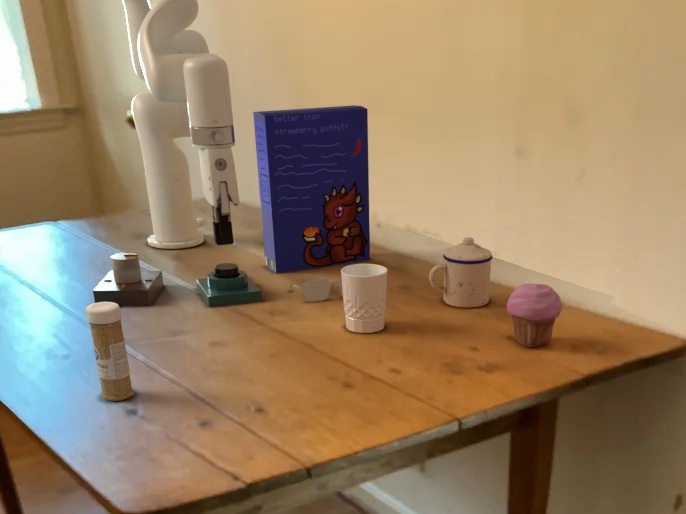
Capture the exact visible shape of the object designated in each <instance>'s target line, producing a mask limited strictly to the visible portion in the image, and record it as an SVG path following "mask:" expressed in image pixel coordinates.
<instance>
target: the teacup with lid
mask: <svg viewBox="0 0 686 514" xmlns="http://www.w3.org/2000/svg"><path fill="white" fill-rule="evenodd" d="M442 258H443V260H444V261H443V263H440V264H436V265H434V266H433V267H432V268H431V269H430V271H429V275H428V279H429V283H430V285H431V287H432V288H433V289H434V290H435V291H436V292H441V293H443V302H444V303H445V304H446V305H449V306H451V307H455V308H463V309H473V308H478V307H482V306H486V305H487V304H488V303H489V301H490V291H491V289H490V288H491V269H492V259H493V253H492V251H491V250H489V249H488V248H486V247H482V246H481V245H479V244H478V243H475V239H474V238H473V237H471V236H470V237H469V236H468V237H464V238H463V239H462V242H461V243H458V244H456V245H455V246H452V247H449V248H447V249H445V250H444V252H443V254H442ZM440 270H443V286H438V285H437V284H436V282H435V274H436V273H437V272H438V271H440Z"/></svg>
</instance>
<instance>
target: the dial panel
mask: <svg viewBox="0 0 686 514" xmlns="http://www.w3.org/2000/svg"><path fill="white" fill-rule="evenodd" d="M140 271H141V277H142V280H141V281H139V282H136V283H130V284H120V283H116V282H115V280H114V274H113V270H110V271H109V272H108V273H107V274H106V275H105V276H104V278H102V280H100V282H99V283H98V284H97V286H96V287H95V288H94V289H92V294H93V299H94V303H98V302H113V303H116V304H118V305H119V307H151V305H152V304H153V302H154V301H155V300H156V298H157V297H158V295H159V293H160V292H161V291H162V289H163V287H164V286H165V285H164V279H163V271H162V270H140Z"/></svg>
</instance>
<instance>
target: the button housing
mask: <svg viewBox="0 0 686 514" xmlns="http://www.w3.org/2000/svg"><path fill="white" fill-rule="evenodd" d="M238 273H239V276H237V277H234V278H217V277H215V270H214V271H213V270H212V271H210V272H209V273H208V274H206V278H196V280H195V281H196V290H197V291H198V292H199V294H200V296H201V297H202V298H203V300H204V302H205V303H206V305H207V306H208V308H212V307H213V308H214V307H222V306H232V305H239V304H240V305H241V304H249V303H259V302H262V301H263V299H262V291H261V289H260V288H259V287H258V286H257V284H255V282H254V281H253V280H252V279H251V277H250V276H249V275H248V274H247V272H246V271H244V270H241V269H238Z"/></svg>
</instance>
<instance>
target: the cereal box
mask: <svg viewBox="0 0 686 514" xmlns="http://www.w3.org/2000/svg"><path fill="white" fill-rule="evenodd" d="M252 114H253V124H254V125H253V126H254V138H255V139H254V140H255V152H256V164H257V177H258V190H259V201H260V213H261V214H260V215H261V227H262V240H263V252H264V266H265V267H266V268H267V269H269V270H270V271H272V272H273V273H274V274H282V273H289V272H296V271H302V270H309V269H317V268H325V267H332V266H338V265H344V264H345V265H346V264H352V263H359V262H367V261H370V260H371V238H370V237H371V232H370V230H371V229H370V227H371V225H370V186H369V185H370V178H369V175H370V173H369V172H370V171H369V124H368V123H369V119H368V116H369V115H368V114H369V113H368V108H367V107H365V106H362V105H356V104H355V105H354V104H352V105H338V106H324V107H323V106H322V107H321V106H320V107H308V108H306V107H305V108H292V109H291V108H290V109H277V110H276V109H275V110H262V111H261V110H260V111H252Z"/></svg>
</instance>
